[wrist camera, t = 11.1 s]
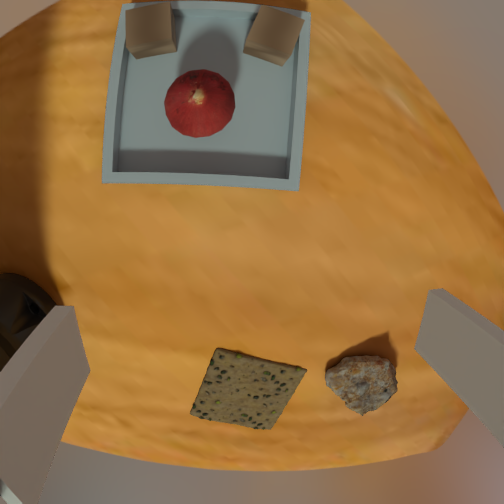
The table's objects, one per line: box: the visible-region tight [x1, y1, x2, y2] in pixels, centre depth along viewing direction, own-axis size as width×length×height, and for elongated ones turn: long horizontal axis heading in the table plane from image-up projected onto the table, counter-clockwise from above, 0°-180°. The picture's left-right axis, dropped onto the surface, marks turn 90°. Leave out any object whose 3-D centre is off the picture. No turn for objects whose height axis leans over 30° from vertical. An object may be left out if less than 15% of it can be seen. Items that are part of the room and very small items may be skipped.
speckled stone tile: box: [190, 348, 307, 430], centre depth 38 cm, size 12×12×1 cm
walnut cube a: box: [125, 1, 177, 60], centre depth 23 cm, size 4×4×4 cm
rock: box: [325, 355, 398, 416], centre depth 37 cm, size 9×6×10 cm
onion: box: [164, 69, 235, 138], centre depth 24 cm, size 6×6×8 cm
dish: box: [102, 1, 311, 191], centre depth 26 cm, size 18×18×2 cm
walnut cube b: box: [243, 4, 305, 67], centre depth 24 cm, size 4×4×4 cm
